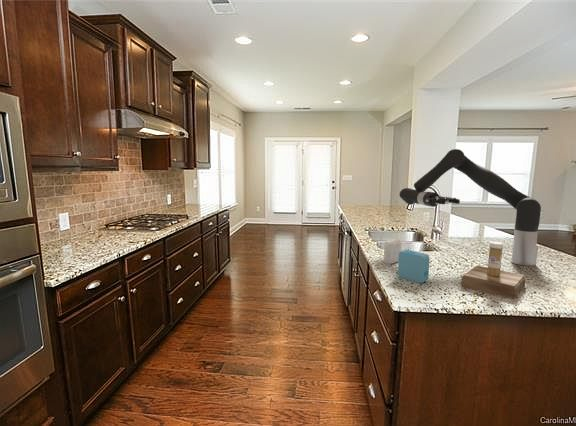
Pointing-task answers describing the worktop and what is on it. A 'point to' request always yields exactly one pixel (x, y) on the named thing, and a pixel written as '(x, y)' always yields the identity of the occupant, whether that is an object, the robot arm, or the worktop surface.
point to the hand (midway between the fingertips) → (452, 201)
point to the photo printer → (392, 250)
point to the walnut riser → (494, 282)
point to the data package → (413, 266)
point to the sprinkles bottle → (495, 258)
